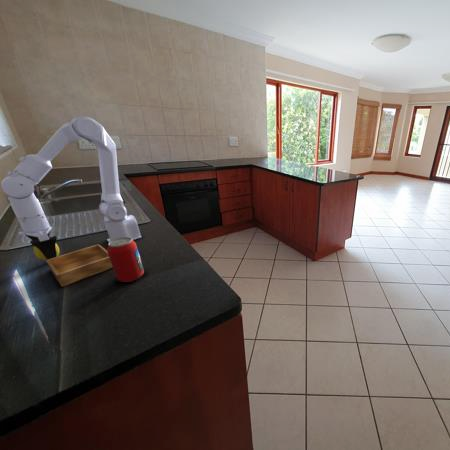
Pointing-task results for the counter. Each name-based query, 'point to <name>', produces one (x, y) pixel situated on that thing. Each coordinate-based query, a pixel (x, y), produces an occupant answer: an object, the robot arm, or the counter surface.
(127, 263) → the beverage can
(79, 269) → the wooden tray
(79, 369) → the counter surface
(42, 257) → the lemon
